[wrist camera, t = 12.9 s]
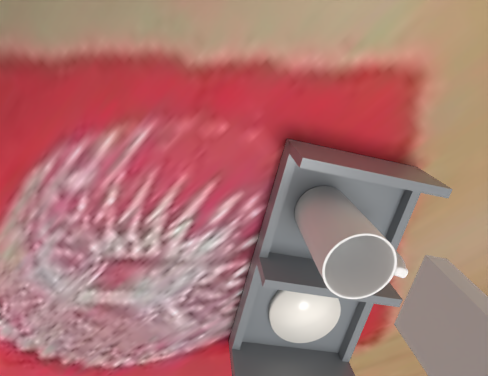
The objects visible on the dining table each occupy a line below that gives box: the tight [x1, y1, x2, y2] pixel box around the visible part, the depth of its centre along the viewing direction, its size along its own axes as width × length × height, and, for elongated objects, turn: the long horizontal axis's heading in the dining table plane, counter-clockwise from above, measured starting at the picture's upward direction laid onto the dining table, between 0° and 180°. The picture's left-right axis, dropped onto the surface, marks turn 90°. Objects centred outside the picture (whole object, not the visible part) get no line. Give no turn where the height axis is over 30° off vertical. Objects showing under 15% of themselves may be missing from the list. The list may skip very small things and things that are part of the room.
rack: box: [229, 139, 452, 376], centre depth 47 cm, size 16×28×7 cm, turn 166°
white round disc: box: [268, 290, 341, 343], centre depth 51 cm, size 9×9×1 cm
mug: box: [295, 186, 408, 299], centre depth 41 cm, size 10×7×12 cm, turn 69°
